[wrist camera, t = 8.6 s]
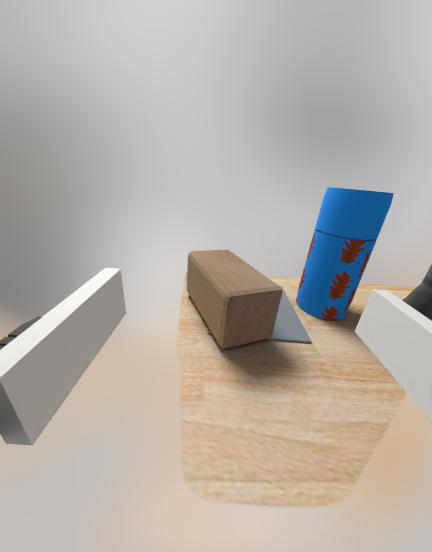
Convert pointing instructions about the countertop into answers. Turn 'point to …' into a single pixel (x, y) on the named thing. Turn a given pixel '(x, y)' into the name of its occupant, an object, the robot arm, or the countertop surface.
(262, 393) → the countertop surface
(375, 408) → the countertop surface
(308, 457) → the countertop surface
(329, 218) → the thermos
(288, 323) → the mat
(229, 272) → the block
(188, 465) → the countertop surface
